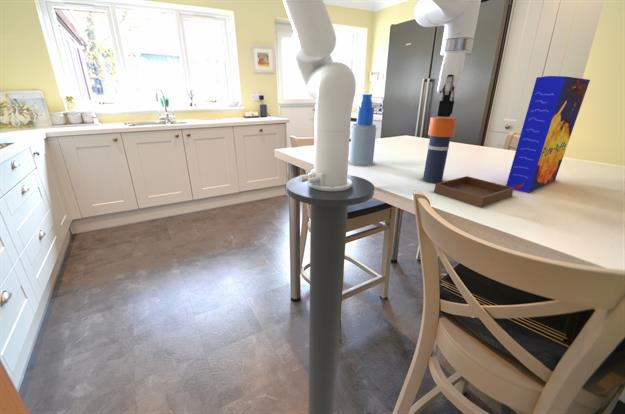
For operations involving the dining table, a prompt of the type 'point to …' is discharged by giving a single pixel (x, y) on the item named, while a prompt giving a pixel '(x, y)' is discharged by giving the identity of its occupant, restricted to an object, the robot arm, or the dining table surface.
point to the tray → (473, 191)
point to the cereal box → (546, 131)
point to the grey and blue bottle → (363, 134)
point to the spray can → (436, 159)
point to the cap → (442, 126)
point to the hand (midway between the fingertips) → (444, 115)
